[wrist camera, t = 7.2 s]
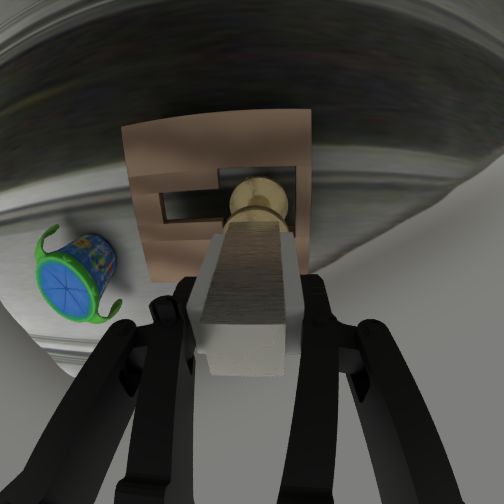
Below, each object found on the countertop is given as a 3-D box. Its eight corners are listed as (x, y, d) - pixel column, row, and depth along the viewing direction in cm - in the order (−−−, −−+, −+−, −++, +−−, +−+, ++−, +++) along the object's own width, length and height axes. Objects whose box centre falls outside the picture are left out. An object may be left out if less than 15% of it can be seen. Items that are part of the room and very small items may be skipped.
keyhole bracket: (160, 119, 30) (121, 126, 21) (297, 108, 29) (311, 109, 20) (177, 239, 38) (151, 282, 29) (298, 236, 36) (307, 281, 28)
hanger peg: (229, 176, 24) (165, 300, 9) (287, 174, 24) (317, 300, 9) (233, 228, 26) (192, 386, 12) (287, 227, 26) (305, 388, 11)
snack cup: (53, 228, 38) (14, 259, 29) (89, 196, 35) (46, 226, 26) (106, 301, 44) (80, 342, 35) (148, 281, 41) (123, 326, 32)
